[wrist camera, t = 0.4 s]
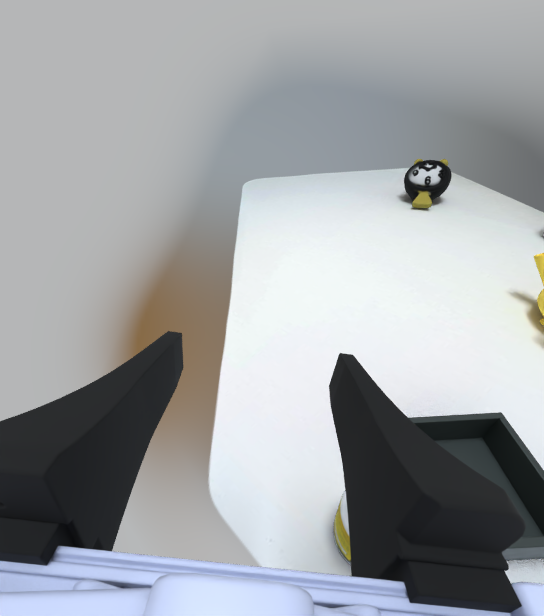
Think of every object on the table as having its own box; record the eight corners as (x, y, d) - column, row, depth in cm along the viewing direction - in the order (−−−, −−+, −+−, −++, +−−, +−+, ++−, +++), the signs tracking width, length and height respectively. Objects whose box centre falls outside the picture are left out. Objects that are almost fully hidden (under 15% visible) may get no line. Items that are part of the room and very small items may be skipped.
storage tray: (559, 557, 23) (597, 543, 20) (433, 564, 23) (454, 551, 20) (482, 434, 31) (501, 412, 28) (389, 440, 31) (398, 418, 28)
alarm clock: (392, 214, 90) (390, 163, 86) (429, 208, 93) (428, 159, 90) (421, 209, 79) (419, 150, 75) (462, 202, 82) (462, 146, 78)
